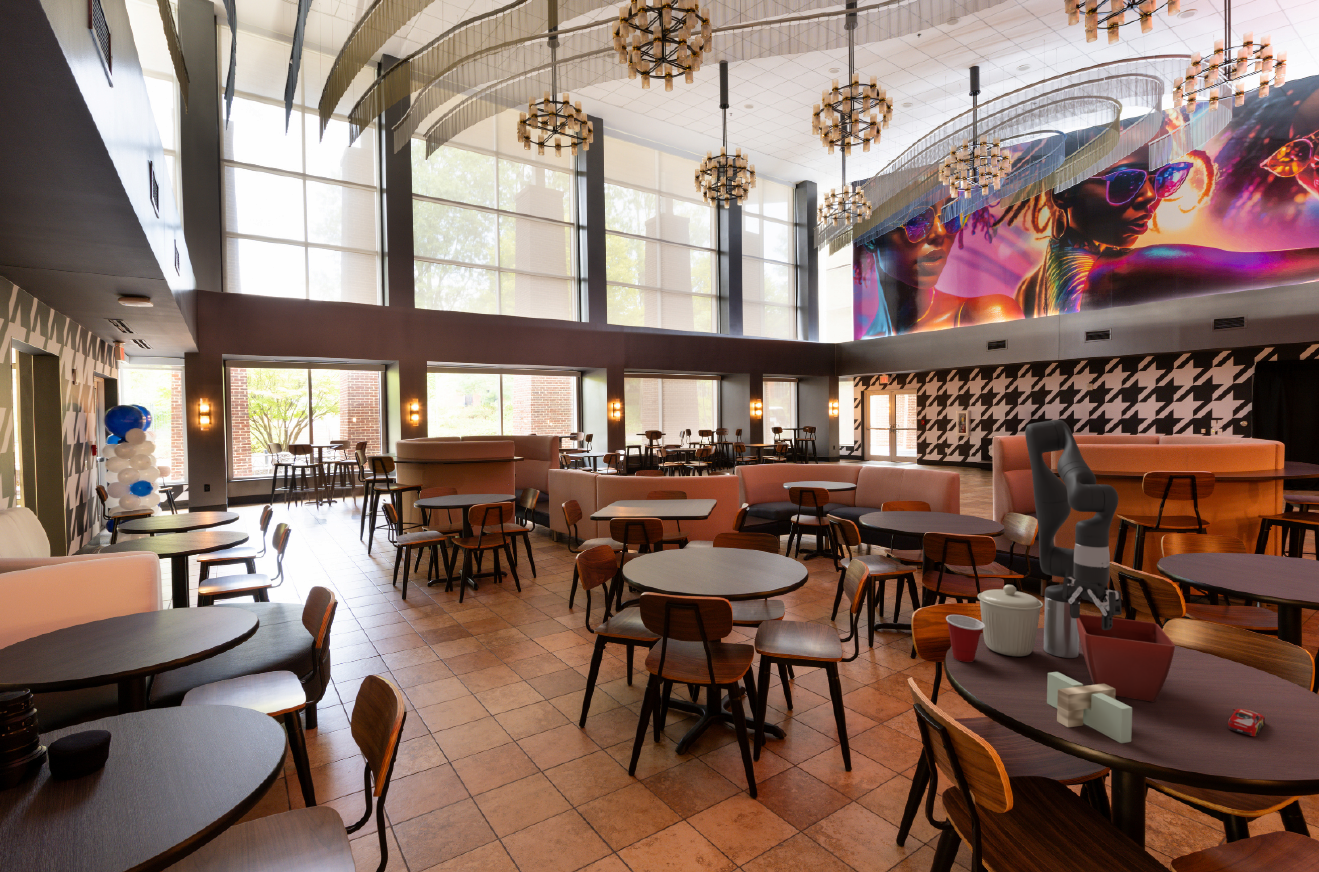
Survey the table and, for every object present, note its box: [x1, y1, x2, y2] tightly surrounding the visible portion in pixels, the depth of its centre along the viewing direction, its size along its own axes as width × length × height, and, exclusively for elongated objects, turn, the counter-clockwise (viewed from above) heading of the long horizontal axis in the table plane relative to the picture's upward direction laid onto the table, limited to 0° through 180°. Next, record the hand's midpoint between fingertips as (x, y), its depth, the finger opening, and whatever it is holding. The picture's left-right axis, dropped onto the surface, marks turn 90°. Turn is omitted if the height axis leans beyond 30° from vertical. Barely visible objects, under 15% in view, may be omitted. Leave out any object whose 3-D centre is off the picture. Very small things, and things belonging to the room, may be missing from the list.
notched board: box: [1046, 671, 1133, 744], centre depth 150 cm, size 20×3×8 cm, turn 13°
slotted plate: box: [1056, 684, 1116, 728], centre depth 150 cm, size 14×3×8 cm, turn 103°
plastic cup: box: [945, 614, 985, 663], centre depth 189 cm, size 11×11×12 cm
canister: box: [977, 584, 1044, 657], centre depth 195 cm, size 18×18×21 cm
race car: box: [1227, 708, 1266, 737], centre depth 148 cm, size 13×5×4 cm, turn 126°
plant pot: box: [1076, 613, 1176, 703], centre depth 168 cm, size 19×19×17 cm
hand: (1090, 623), depth 158 cm, fingers open, 8 cm apart
